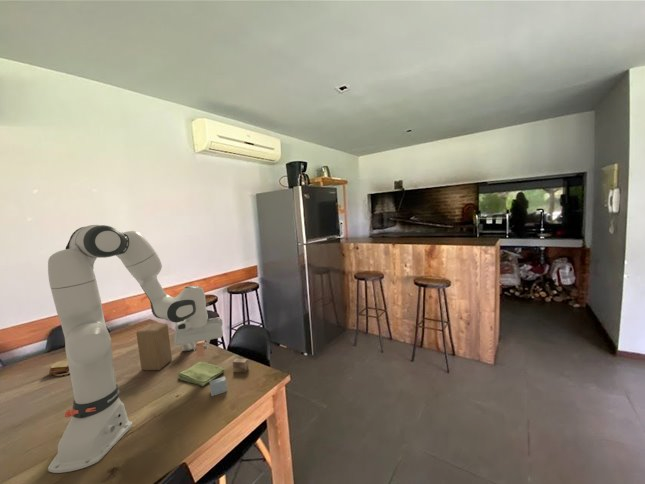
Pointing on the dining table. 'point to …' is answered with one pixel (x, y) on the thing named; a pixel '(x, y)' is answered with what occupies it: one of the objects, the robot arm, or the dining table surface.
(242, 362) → the brick walnut
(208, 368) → the washcloth
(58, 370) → the toy sandwich meal
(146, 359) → the block
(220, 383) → the brick slate
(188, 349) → the plastic bottle
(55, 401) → the dining table surface
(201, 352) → the brick terracotta
